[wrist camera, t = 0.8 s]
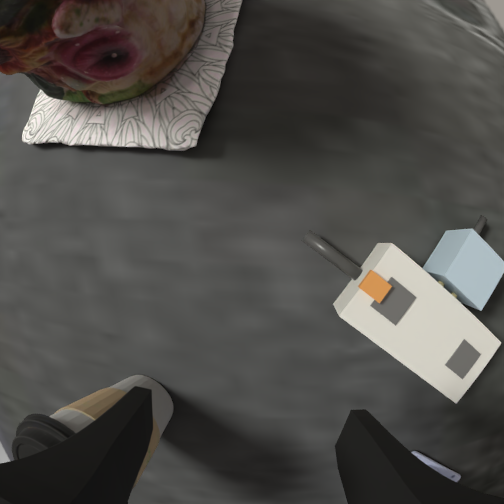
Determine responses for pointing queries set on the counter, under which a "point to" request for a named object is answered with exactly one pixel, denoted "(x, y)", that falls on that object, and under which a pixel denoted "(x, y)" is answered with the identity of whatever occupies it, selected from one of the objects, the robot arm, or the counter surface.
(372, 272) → the power strip
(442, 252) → the charger
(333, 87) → the counter surface
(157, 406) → the coffee cup
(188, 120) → the cookie jar
